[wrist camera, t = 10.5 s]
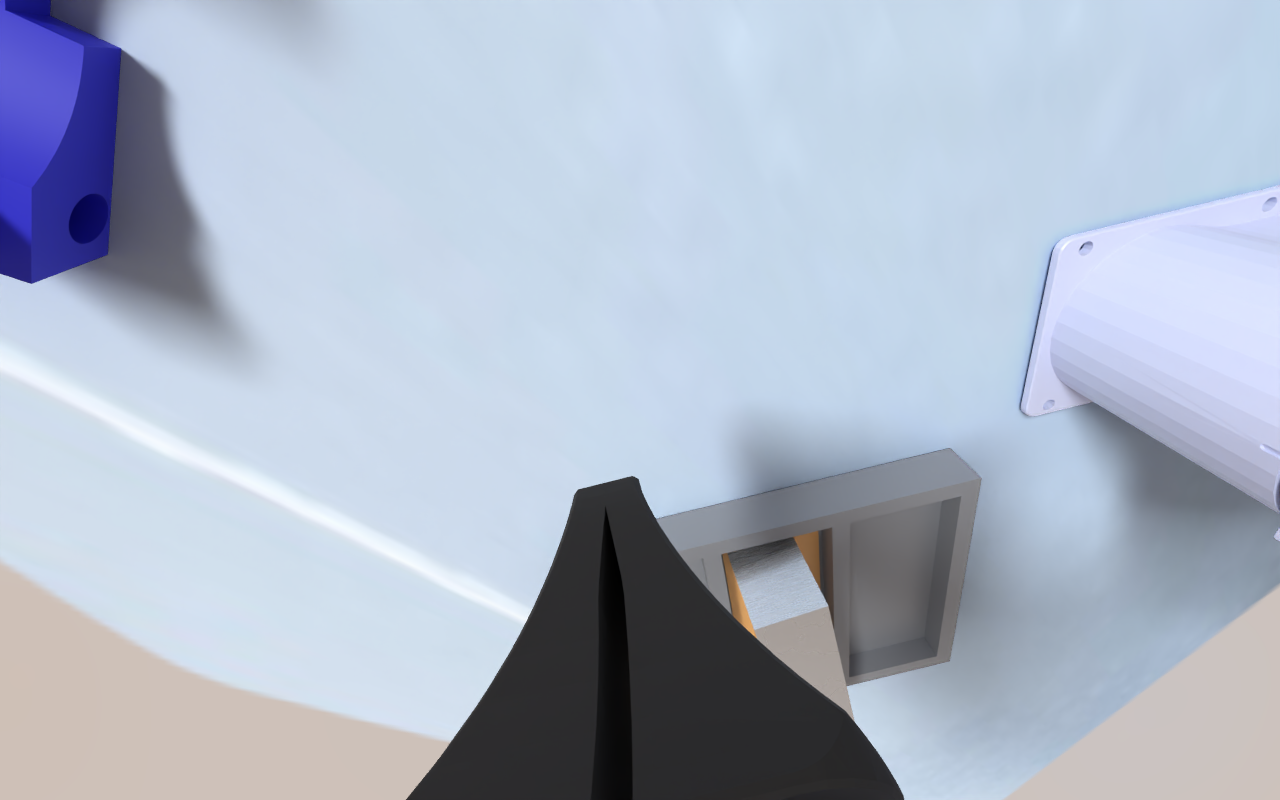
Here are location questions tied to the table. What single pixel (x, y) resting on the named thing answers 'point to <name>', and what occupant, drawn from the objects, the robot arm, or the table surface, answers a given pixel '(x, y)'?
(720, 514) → the bay rack
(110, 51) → the blue arch block
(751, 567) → the light grey rectangular block
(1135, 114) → the table surface
